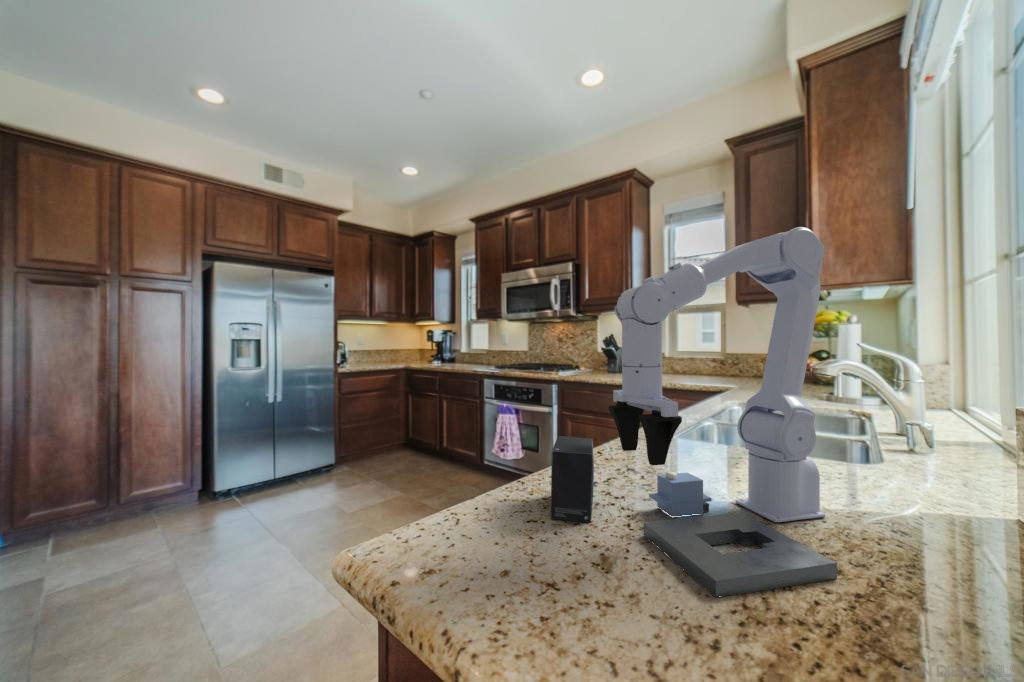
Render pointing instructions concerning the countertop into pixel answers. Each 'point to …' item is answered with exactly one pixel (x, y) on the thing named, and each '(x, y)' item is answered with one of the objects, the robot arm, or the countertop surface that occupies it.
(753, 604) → the countertop surface
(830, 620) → the countertop surface
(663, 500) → the servo
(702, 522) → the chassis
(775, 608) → the countertop surface
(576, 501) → the small box
